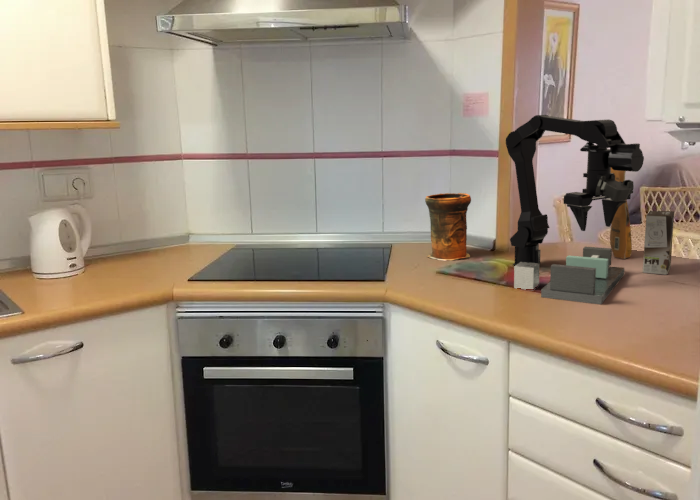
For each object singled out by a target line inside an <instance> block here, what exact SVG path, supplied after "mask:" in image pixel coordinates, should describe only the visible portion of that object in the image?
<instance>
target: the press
mask: <svg viewBox="0 0 700 500" xmlns="http://www.w3.org/2000/svg"><path fill="white" fill-rule="evenodd" d="M624 275H625V267H622V266H621V267H620V266H612V265H610V266H608V277H607V278H596V268H589V267H578V266H568V265H566V264H556V263H552V264H551V265H550V276H549V278H550V280H549V282H548V283H547V284H546V285H544V287H542V288H541V290H540V292H541V293H540V294H541V295H540V298H547V299H553V300H554V299H555V300H563V301H570V302H579V303H586V304H587V303H588V304H595V305H602V304H603V303H604V301H605V300H606V299H607V297H608V296H610V294H611V293H612V291H613V290H614V289H615V287H616V286H617V285H618V284H619V282H620V281H621V279H622V278H623V277H624Z"/></svg>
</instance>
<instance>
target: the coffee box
mask: <svg viewBox="0 0 700 500" xmlns="http://www.w3.org/2000/svg"><path fill="white" fill-rule="evenodd" d="M645 216H646V219H645V230H644V247H643V248H644V250H643V261H642V262H643V263H642V273H645V274H654V275H655V274H656V275H665V276H667V275H668V274H669V272H670V269H671V265H672V250H673V249H672V248H673V238H674V237H673V236H674V234H673V233H674V223H675V221H674V220H675V211H674V210H672V211H671V210H649V212H648V213H647V214H646V215H645Z"/></svg>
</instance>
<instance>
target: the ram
mask: <svg viewBox="0 0 700 500" xmlns="http://www.w3.org/2000/svg"><path fill="white" fill-rule="evenodd" d="M612 255H613V252H612V248H611V247H597V246H595V247H594V246H584V247H583V249H582V256H581V255H580V256H578V255H577V256H576V255H567V256H566V257H565V265H568V266H578V267H589V268H596V278H607V277H608V266H612Z"/></svg>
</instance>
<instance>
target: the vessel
mask: <svg viewBox="0 0 700 500" xmlns="http://www.w3.org/2000/svg"><path fill="white" fill-rule="evenodd" d="M424 200H425V202H424V203H425V204H426V206H427V208H428V209H427V210H428V214H429V222H430V243H431V251H432V253H430V254H429V255H427V256H426V257H427V258H429V259H435V260H438V261H444V262H445V261H454V260H455V261H456V260H459V259H469V258H470V257H471V255H470V254H469V253H468V252H467V240H468V239H467V236H468V235H467V232H468V231H467V229H468V223H467V212H468V209H469V206H470V205H471V202H472V197H471V195H470V194H468V193H466V192H465V193H464V192H463V193H462V192H458V193H451V192H450V193H449V192H447V193H445V192H444V193H437V194H436V193H435V194H430V195H427V196H425V198H424Z"/></svg>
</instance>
